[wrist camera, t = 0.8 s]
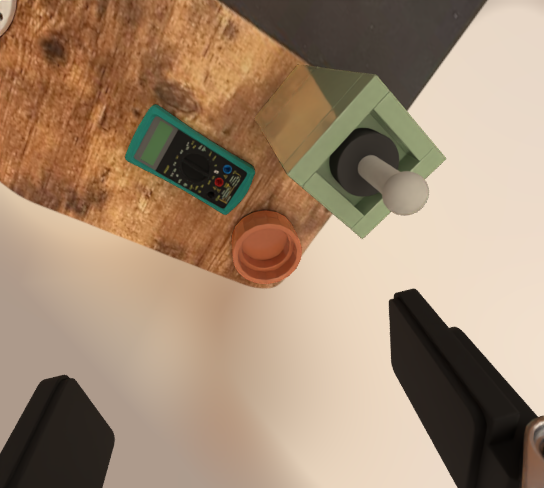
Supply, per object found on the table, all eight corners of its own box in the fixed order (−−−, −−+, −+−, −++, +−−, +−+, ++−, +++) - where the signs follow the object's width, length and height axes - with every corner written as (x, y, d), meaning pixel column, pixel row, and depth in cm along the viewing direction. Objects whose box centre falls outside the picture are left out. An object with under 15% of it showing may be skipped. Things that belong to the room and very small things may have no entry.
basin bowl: (218, 243, 51) (218, 261, 46) (260, 195, 48) (264, 210, 44) (265, 275, 54) (270, 294, 50) (307, 232, 52) (315, 249, 47)
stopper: (316, 162, 25) (357, 208, 18) (361, 113, 24) (425, 140, 16) (355, 198, 27) (407, 253, 19) (398, 154, 26) (471, 195, 18)
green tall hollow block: (253, 118, 43) (286, 174, 23) (297, 63, 41) (376, 74, 21) (299, 159, 46) (362, 239, 26) (342, 110, 44) (447, 158, 24)
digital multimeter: (228, 211, 48) (229, 220, 46) (126, 153, 43) (120, 159, 40) (258, 168, 46) (260, 174, 44) (153, 100, 40) (149, 103, 38)
